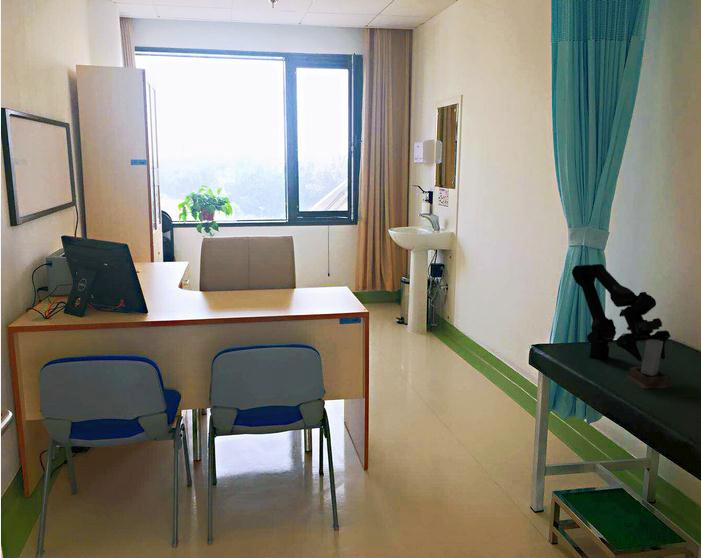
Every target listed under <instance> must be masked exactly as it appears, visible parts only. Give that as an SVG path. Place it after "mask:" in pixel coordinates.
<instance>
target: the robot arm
mask: <svg viewBox="0 0 701 558" xmlns="http://www.w3.org/2000/svg"><path fill="white" fill-rule="evenodd" d="M571 274H572V277H573V279H574V281H575V283H576V284H577V285H578V286H580V287H581V289H582V292H583V294H584V299H585V301H586V304H587V307H588V310H589V314H590V315H591V319H592V322H591V325H590V328H591V331H590V333H588V334H587V335H586V341H587V342H589V343H590V349H589V350H590V352H589V356H588V357H589V358H590V359H591V358H592V359H598V360H607V359H608V358H609V357H610V347H611V346H610V345H609V343H613V342H614V340H615V337H616V334H617V330H616V329H617V327H616V326H615V323H614V320H613V319H612V318H608V317H607V316H606V314H605V312H604V308H603V306H602V302H601V300H600V297H599V294H598V291H597V288H596V285H595V281H596V280H597V281H598V282H599V283H600V284H601V285H602V286H603V288H605V290H606V291H607V292H608V293H609V295H610V296H609V297H610V300H611V301H612V303H613V304H614V306H615V307H617V308H623V307H625V308H624V309H620V312H619V314H618V316H619V317H620V318H621V317H624V319H625V321H626V324H627V327H626V329H627V331H630V332H628V333H622V334H621V335H620V336H618V338H616V340H615V341H616V342H615V343H616V345H617V347H618V348H620V349H623V350H625V351H626V352H628V353H629V354H630V355H631V356H633V357H634V359H636V360H637V361H638V362H643V359H642V356H641V353H640V351H639V349H638V346H637V343H638V342H647V340H649V339H655V340H659V341H663V346H662V352H661V357H660V359H661V360H665V359H666V351H665V349H666V348H665V346H666V342H667V341H668V340H669V339H670V338H672V336H671V334H670V332H669V330H666V329H665V330H660V328H661V327H663V322H662V321H661V320H662V319H661V318H660V317H657V318H653V319H652V320H648V319H644V318H643V316H645V315H647V314H648V313H649V312H650V311H651V310H652V309H654V308H655V307H656V305H657V300H656V299H655V298H654V297H653V296H652V295H650V294H648V293H647V292H646V291H640V293H638V295H637V294H635V292H634V291H633V290H632V289H630V288H628V287H626V286H623V285H622V284H620V283H619V281H618V280H616V278H615V277H614V276H613V275H612V274H611V273H610V272H609V271H608V270H607V269H606V268H605V266H604V264H601V263H596V264H595V263H594V264H580V265H578V264H577V265H575V266H573V268H572V269H571ZM656 330H657V331H656ZM654 331H656V332H655V333H654Z"/></svg>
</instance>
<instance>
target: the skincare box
mask: <svg viewBox="0 0 701 558" xmlns="http://www.w3.org/2000/svg"><path fill="white" fill-rule="evenodd" d="M645 342H646V343H645V348H644V354H643V359H642V363H641V367H642V368H641V373H643V374H646V375H650V376H654V375H656V374H657V373H658V370H659V368H660V361H661V352H662V346H663V341H659V340H655V339H649V340H647V341H645Z"/></svg>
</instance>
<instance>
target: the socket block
mask: <svg viewBox="0 0 701 558" xmlns="http://www.w3.org/2000/svg"><path fill="white" fill-rule="evenodd" d="M641 368H642V366H637V367H629V373H628V375H625V378H626V379H627V380H629V381H630V382H632V383H633V384H635V386H636V385H637V386H638V387H639V388H641V389H642V388H643V389H642V390H649V388H652V389H665V388H673V384H672V383H670V380H671V376H669V375H667V374H666V373H664V372H662V371H660V370H659V369H658V373H657V374H656V375H654V376H650V375H646V374H643V373H641Z"/></svg>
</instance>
